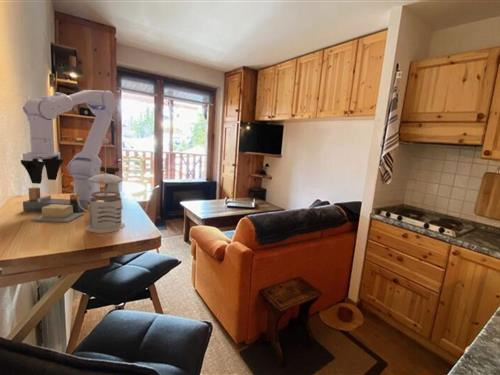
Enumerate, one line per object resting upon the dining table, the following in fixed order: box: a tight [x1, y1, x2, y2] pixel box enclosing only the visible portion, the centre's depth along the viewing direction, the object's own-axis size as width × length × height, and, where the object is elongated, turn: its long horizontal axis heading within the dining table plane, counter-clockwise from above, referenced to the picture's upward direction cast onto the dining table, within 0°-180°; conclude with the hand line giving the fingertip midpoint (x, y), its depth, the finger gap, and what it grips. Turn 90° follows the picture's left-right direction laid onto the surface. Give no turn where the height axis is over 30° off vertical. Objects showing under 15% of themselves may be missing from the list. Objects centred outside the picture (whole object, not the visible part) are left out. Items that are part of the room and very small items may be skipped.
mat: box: [30, 212, 84, 223], centre depth 75 cm, size 8×10×1 cm
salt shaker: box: [102, 175, 123, 218], centre depth 81 cm, size 6×6×13 cm
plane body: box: [22, 186, 89, 213], centre depth 82 cm, size 6×16×7 cm, turn 97°
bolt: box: [100, 165, 120, 189], centre depth 88 cm, size 6×5×15 cm
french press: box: [77, 137, 126, 234], centre depth 69 cm, size 10×12×25 cm
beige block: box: [41, 204, 73, 219], centre depth 75 cm, size 4×6×3 cm
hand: (44, 181), depth 81 cm, fingers open, 7 cm apart
